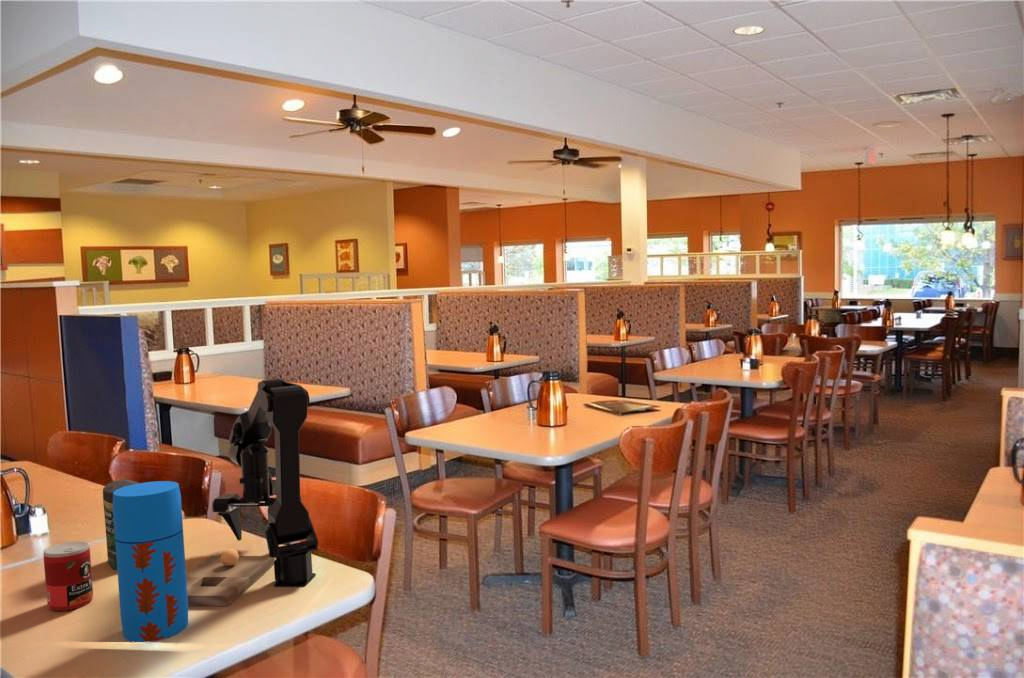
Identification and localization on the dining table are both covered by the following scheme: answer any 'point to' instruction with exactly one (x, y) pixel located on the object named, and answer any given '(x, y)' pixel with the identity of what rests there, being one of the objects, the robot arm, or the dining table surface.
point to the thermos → (150, 560)
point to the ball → (229, 557)
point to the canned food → (68, 575)
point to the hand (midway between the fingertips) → (259, 540)
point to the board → (224, 579)
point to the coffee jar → (109, 518)
